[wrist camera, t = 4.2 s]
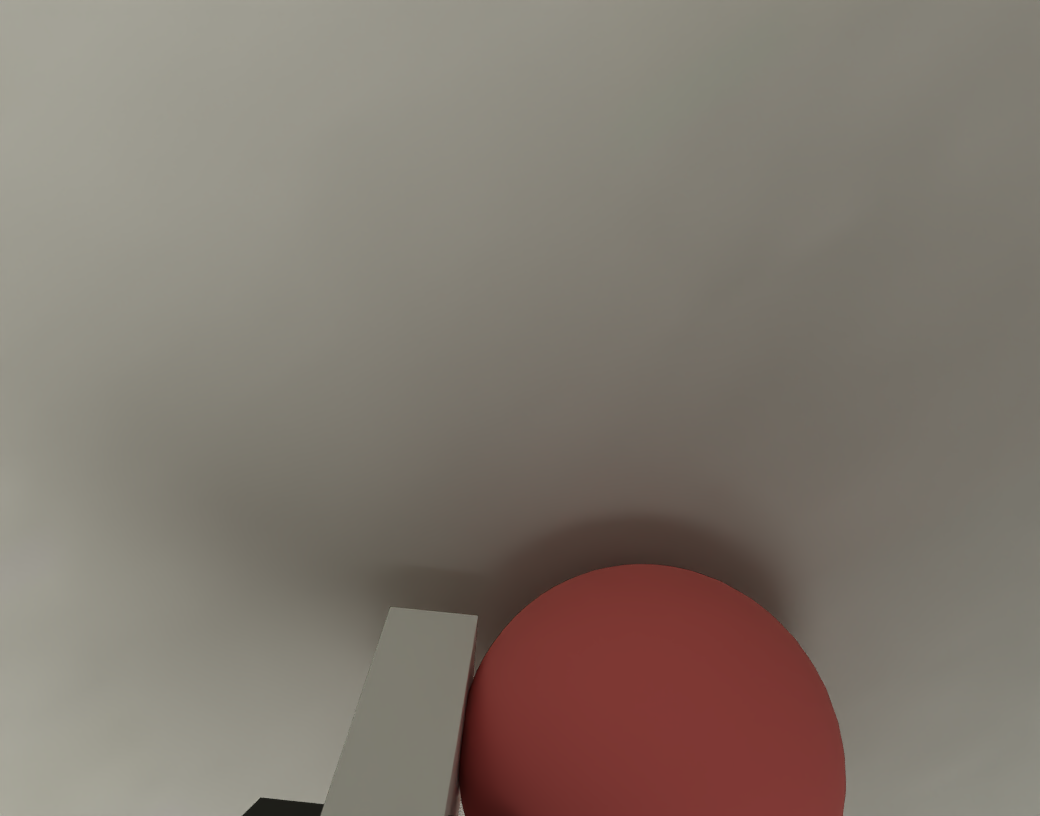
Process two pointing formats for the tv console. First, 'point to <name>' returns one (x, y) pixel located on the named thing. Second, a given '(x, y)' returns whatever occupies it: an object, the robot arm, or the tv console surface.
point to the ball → (649, 706)
